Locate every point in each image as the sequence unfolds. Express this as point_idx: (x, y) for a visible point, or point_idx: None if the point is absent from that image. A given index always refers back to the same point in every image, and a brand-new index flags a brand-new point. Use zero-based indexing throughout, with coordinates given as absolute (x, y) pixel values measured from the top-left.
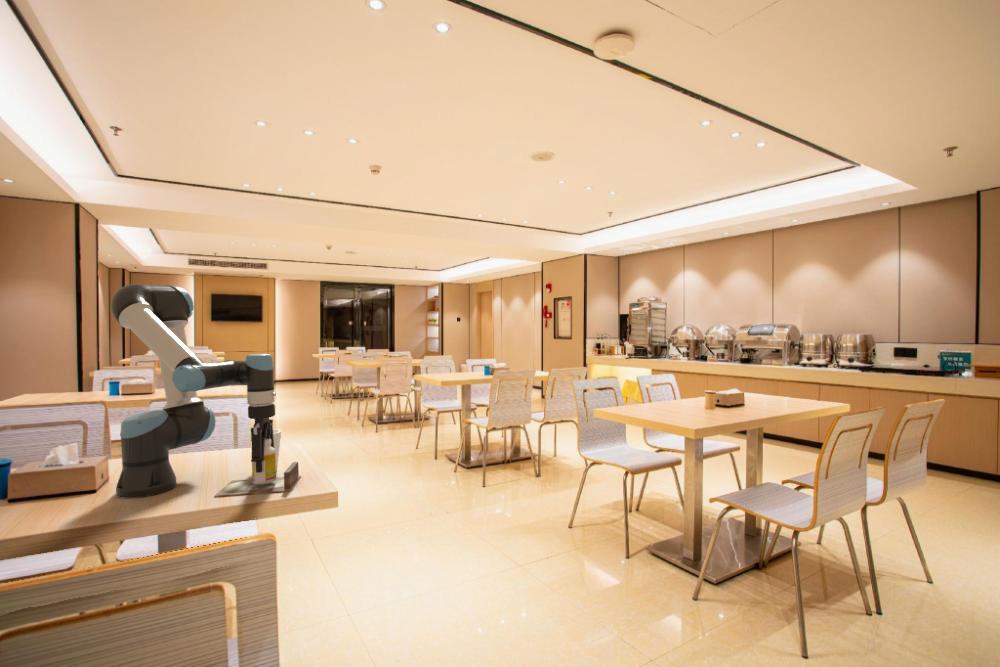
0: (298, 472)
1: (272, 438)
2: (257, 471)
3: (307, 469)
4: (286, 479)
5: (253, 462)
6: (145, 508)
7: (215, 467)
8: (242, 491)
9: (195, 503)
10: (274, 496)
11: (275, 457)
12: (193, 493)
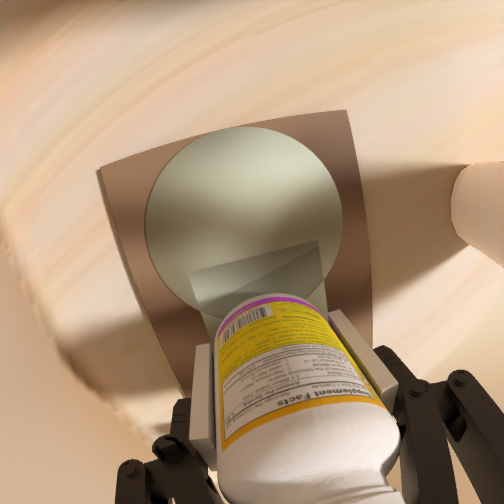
0: None
1: (469, 471)
2: (177, 410)
3: (442, 353)
4: None
5: (225, 406)
6: (27, 10)
7: (469, 4)
8: (165, 280)
9: (39, 141)
10: (154, 407)
11: (501, 265)
12: (164, 25)
